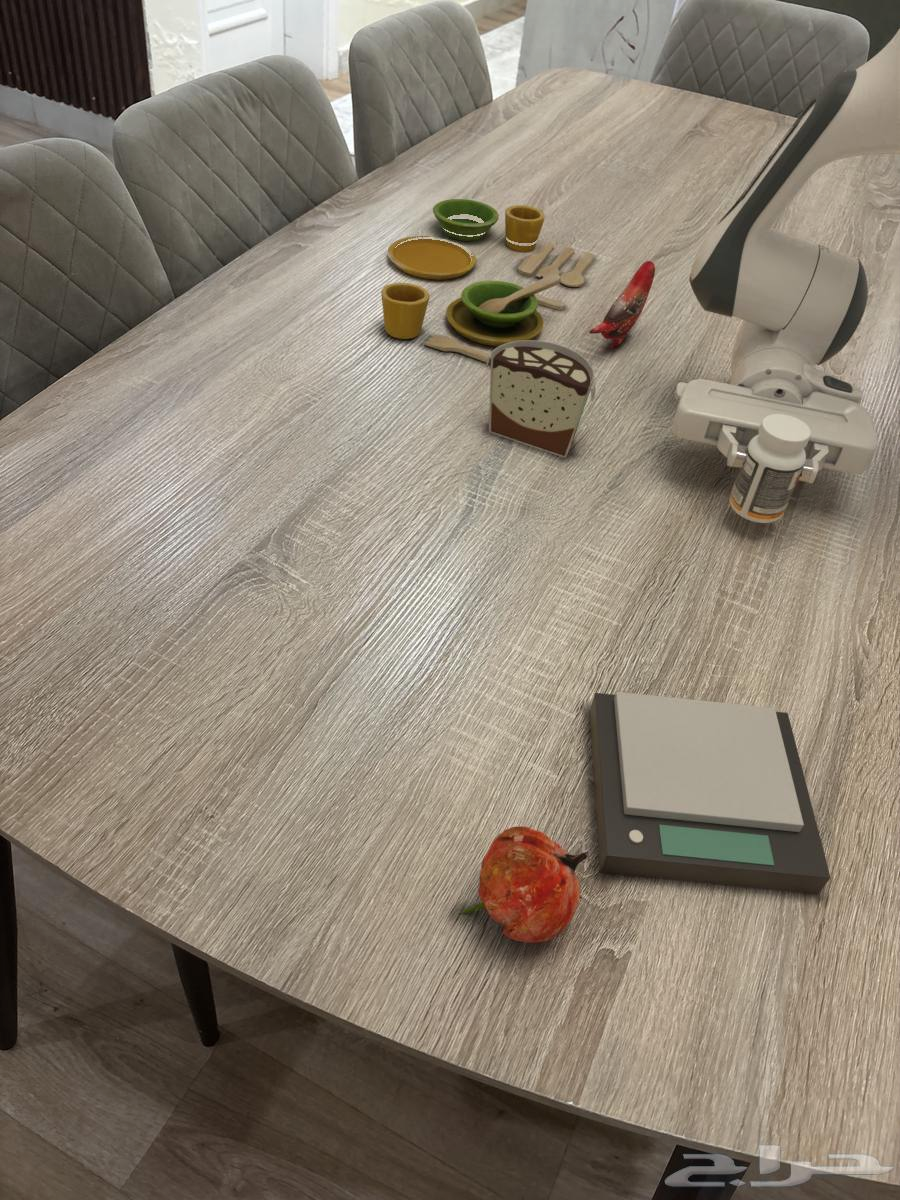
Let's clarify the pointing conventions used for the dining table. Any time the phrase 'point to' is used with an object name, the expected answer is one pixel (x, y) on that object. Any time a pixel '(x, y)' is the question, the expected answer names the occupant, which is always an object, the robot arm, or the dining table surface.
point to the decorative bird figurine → (627, 306)
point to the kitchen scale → (702, 794)
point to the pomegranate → (529, 885)
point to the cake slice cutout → (538, 393)
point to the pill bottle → (770, 469)
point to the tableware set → (484, 305)
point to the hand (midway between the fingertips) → (772, 469)
